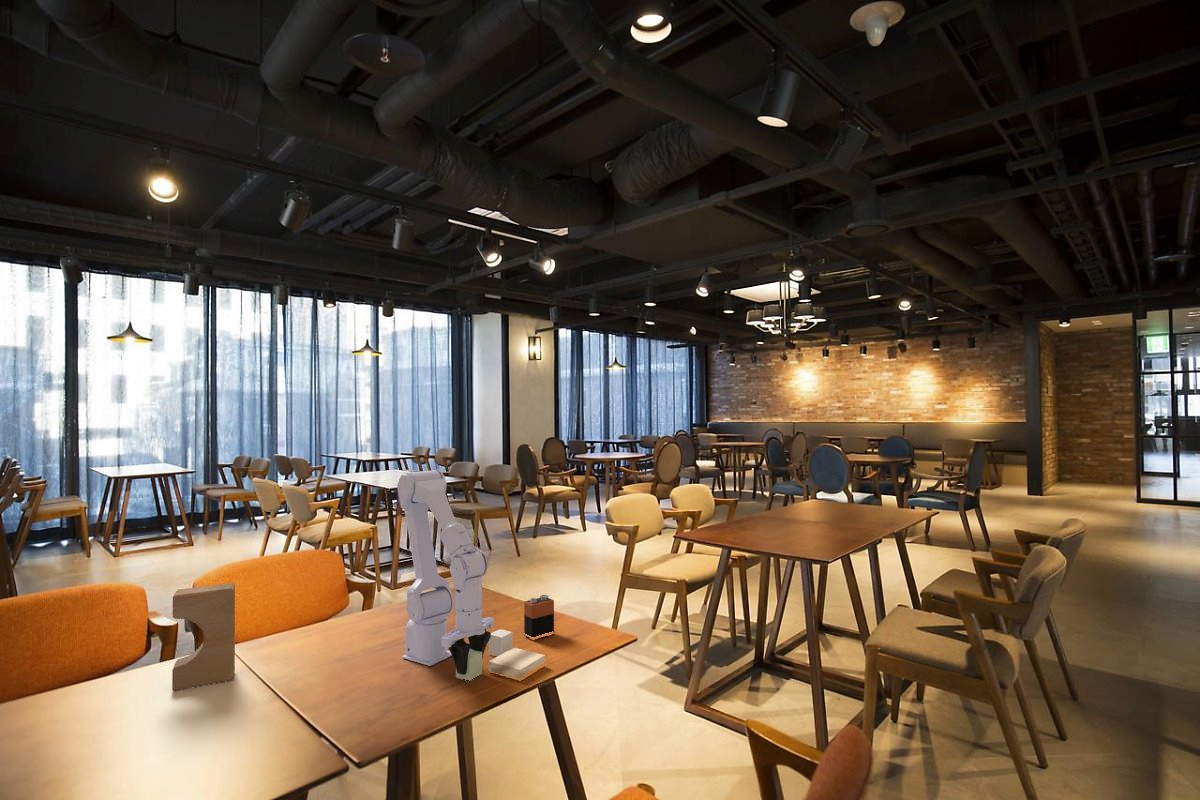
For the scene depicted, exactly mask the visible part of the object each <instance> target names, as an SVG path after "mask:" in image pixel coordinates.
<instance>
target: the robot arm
mask: <svg viewBox="0 0 1200 800" xmlns="http://www.w3.org/2000/svg"><path fill="white" fill-rule="evenodd" d="M396 488H397V494H398V499H399V505H400V508H401V510H402V509H403V510H404V515H405V521H406V526H407V527H406V528H407V532H408V539H409V544H410V545H409V546H410V551H411V558H412V563H413V569H414V570H413V571H414V575H415V581H414V582H413V583H412V585H410V587H408V589H407V590H406V599H407V600H406V612H407V613H406V614H407V617H408V618H409V620H408V622H407V623H406V626H405V630H404V631H405V632H404V642H405V643H404V644H405V645H404V646H405V648H404V652H405V653H404V654H403V655H401V656H402V658H403V659H406V660H408V661H412V662H415V663H419V664H422V665H425V666H430V667H431V666H434V665H436V664H438V663H440V662H441V661H442V662H443V661H444V660H446V659H448V658H450V657H451V656H452V658H453V661H454V665H455V670H456V669H457V673H459V674H462V675H465V674H466V672H467V661H468V654H469V650H470V649H473V650H477V651H481V652H482V659H483V657H484V654H485V649H486V648H487V645H488V644H489V639H490V637H491V633H492V632H490V631H487V629H492V628H494V627H495V618H493V617H489V616H487V617H484V618H483V576H485V575H486V573H487V572H488V560H487V556H486V554H485V553H484V551H482V550H480V549H479V548H478V547H477V546H476V545H475V546H474V543H473V542H472V539H471V538H470V535H469V534H468V531H467V530H466V527H465V526H464V525H463V524H462V523H459V522H457V521H456V518H455V515H454V513H453V510H452V507H451V505H450V502H449V500H448V497H447V495H446V492H447V480H446V477H445V475H444V473H443V472H442V471H441V470H440V469H433V470H422V471H413V472H408V471H406V472H402V473H401V475H400V476H399V479H398V483H397V485H396ZM429 510H430V512H431V513H432V515H433V517H434V519H435V520H436V522H437V523H438V525H439V527H440V528H441V533H440V535H439V538H440V540H441V542H442V545H443V547H444V548H445V550H446V553H447V556H448V557H449V559H450V561H451V563H450V565H449V572H450V576H451V578H452V585H453V588H454V589H455V596H454V594H453V592H452V590H451V587H450V583H449V581H448V580H447V579H445V578H444V577H442V576H440V575H439V571H438V567H437V559H436V554H435V549H434V544H433V538H432V532H431V525H430V521H429V513H428V511H429ZM431 589H432V590H431ZM427 590H429V591H427ZM424 591H426V592H424ZM454 607H455V627H454V628H453V629H452V630H450V631H449V632H448V633H447V619H448V618H450V613H451V612H453V609H454ZM465 639H468V643H467V641H466V640H465Z"/></svg>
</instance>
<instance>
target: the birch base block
mask: <svg viewBox="0 0 1200 800" xmlns="http://www.w3.org/2000/svg"><path fill="white" fill-rule="evenodd" d="M544 662H545V663H546V654H541V653H538V652H535V651H534V652H533V651H530V650H526V649H521V648H517V647H513V648H512V649H510V650H509V651H507V652H505V653H503V654H501V655H499V656H497V657H494V658H492V659H490V660H488V671H490V672H494V673H498V674H503V675H507V676H511V677H517V678H521V677H522V676H524V675H526V674H527V673H529V672H530V671H532V670H533V669H535V668H537V667H538V666H540V665H541V664H543V663H544Z"/></svg>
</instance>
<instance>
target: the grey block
mask: <svg viewBox="0 0 1200 800" xmlns="http://www.w3.org/2000/svg"><path fill="white" fill-rule="evenodd" d="M490 633H491V637H490V639H489V641H488V655H489V654H492V655H496V656H499V655H501V654H503V653H505V652H507V651H509V650H510V649H512V648H514V646H513V645H514V644H513V643H514V641H513V639H514V638H513V637H514V636H513V634H514V633H513V632H512V631H509V630H506V629H501V628H499V629H498V630H495V631H492V632H490Z"/></svg>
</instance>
